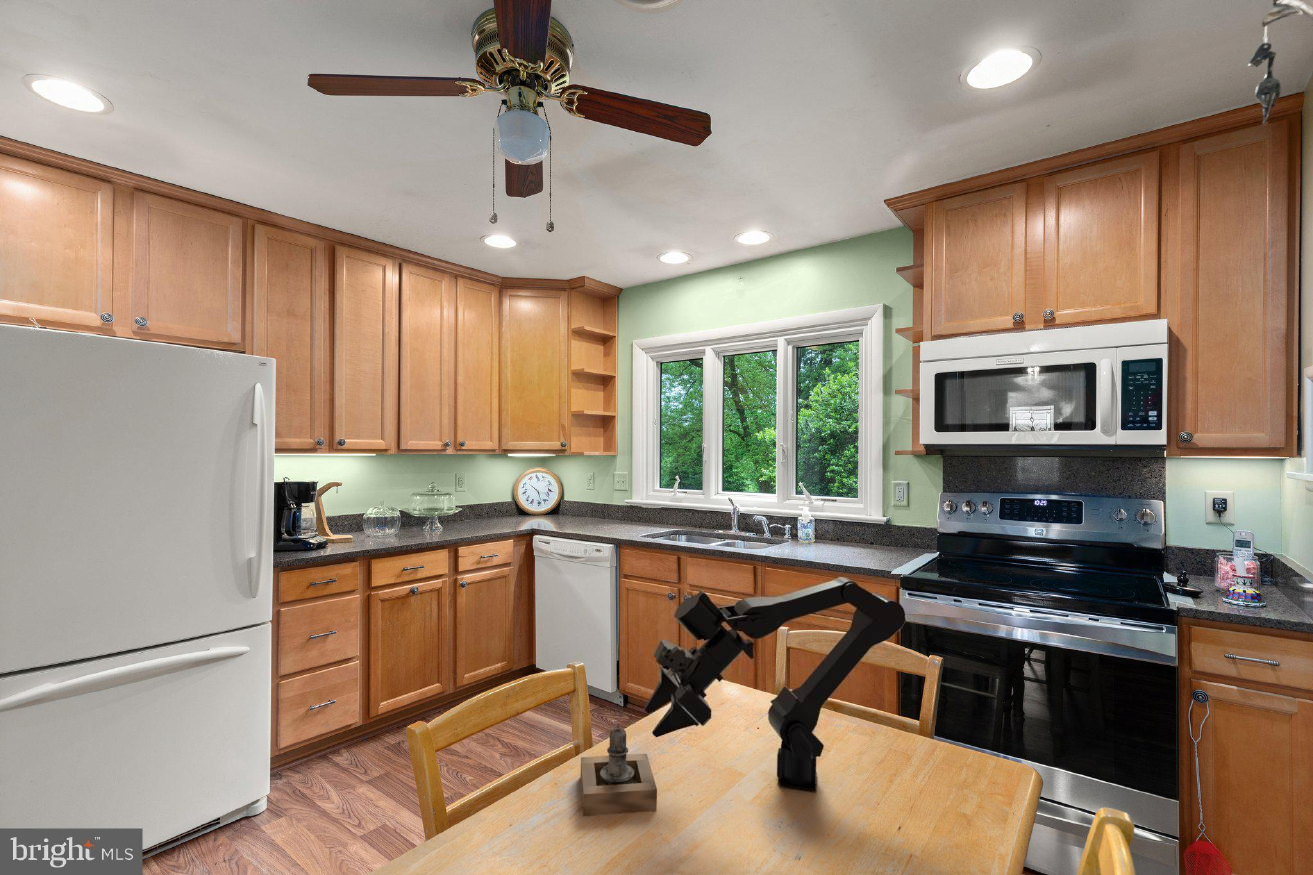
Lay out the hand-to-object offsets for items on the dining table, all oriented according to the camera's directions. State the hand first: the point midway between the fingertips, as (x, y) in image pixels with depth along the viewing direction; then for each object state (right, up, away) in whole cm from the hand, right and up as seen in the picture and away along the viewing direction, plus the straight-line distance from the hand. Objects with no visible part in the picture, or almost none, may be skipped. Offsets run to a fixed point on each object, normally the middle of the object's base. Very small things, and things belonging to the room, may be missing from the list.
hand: (649, 722), depth 109 cm
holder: (-6, -12, -1) cm, 13 cm away
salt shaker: (-6, -12, -1) cm, 13 cm away
